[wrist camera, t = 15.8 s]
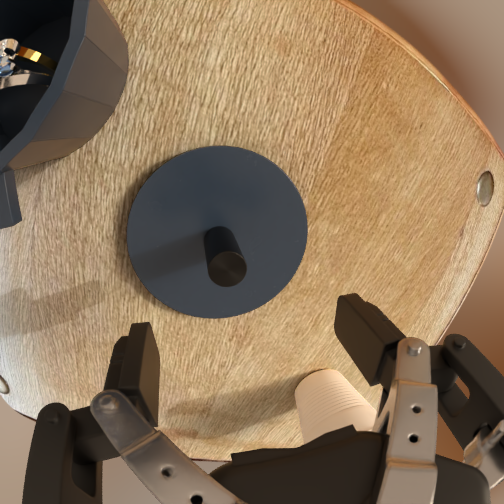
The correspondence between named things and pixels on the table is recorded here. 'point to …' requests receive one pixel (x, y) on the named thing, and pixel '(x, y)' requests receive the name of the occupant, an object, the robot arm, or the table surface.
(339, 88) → the table surface
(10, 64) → the ring
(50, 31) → the pot
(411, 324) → the table surface
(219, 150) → the lid
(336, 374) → the cup
